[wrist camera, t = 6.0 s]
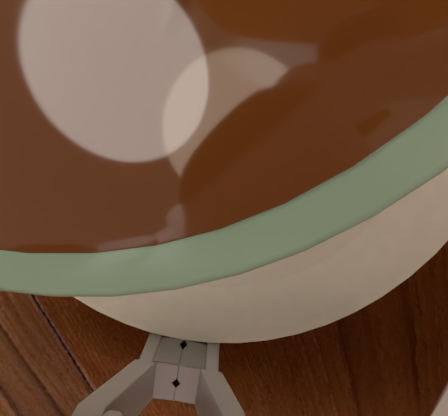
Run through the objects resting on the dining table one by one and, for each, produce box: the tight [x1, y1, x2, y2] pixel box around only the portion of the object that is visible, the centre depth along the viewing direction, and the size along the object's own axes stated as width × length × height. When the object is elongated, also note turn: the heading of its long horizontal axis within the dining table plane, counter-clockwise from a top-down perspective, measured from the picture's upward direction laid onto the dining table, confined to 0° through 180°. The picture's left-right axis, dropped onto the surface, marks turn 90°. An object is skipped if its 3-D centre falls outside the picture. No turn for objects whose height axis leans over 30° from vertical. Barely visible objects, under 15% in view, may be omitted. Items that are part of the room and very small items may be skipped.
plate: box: [74, 168, 448, 343], centre depth 8 cm, size 18×18×2 cm
